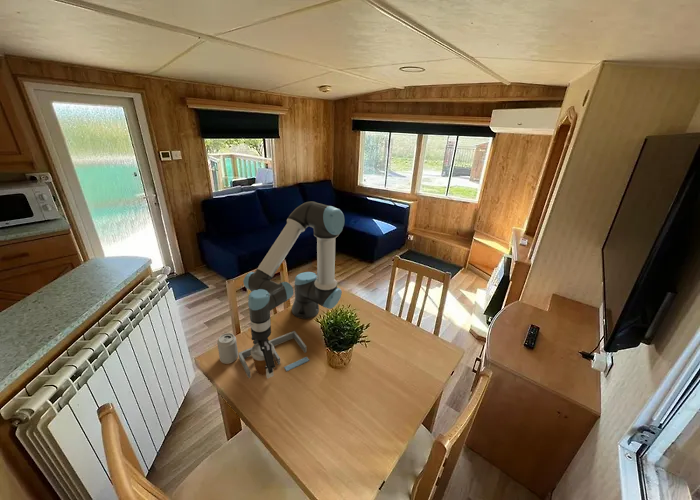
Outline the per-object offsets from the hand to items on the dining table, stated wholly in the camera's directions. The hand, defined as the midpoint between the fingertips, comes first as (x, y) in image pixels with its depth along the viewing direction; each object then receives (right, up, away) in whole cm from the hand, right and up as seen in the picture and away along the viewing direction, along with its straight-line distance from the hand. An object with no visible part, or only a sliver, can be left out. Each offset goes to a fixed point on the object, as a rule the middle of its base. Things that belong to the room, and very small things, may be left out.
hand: (263, 365), depth 119 cm
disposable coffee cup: (0, -2, +1) cm, 2 cm away
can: (-17, +1, +5) cm, 18 cm away
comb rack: (+2, +1, +8) cm, 9 cm away
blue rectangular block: (+13, -1, +5) cm, 14 cm away
